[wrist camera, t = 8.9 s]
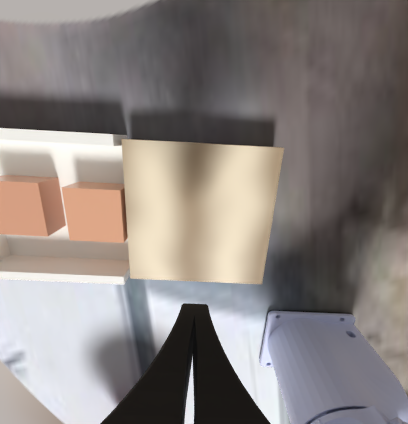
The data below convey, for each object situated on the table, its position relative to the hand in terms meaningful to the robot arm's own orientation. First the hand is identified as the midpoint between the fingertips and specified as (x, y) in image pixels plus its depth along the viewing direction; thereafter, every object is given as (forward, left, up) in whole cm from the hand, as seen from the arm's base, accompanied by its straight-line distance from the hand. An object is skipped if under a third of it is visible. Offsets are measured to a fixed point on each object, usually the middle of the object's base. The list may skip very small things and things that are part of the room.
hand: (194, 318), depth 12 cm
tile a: (+8, -3, -10) cm, 13 cm away
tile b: (+15, -3, -10) cm, 18 cm away
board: (0, -3, -10) cm, 10 cm away
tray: (+12, -3, -10) cm, 16 cm away
